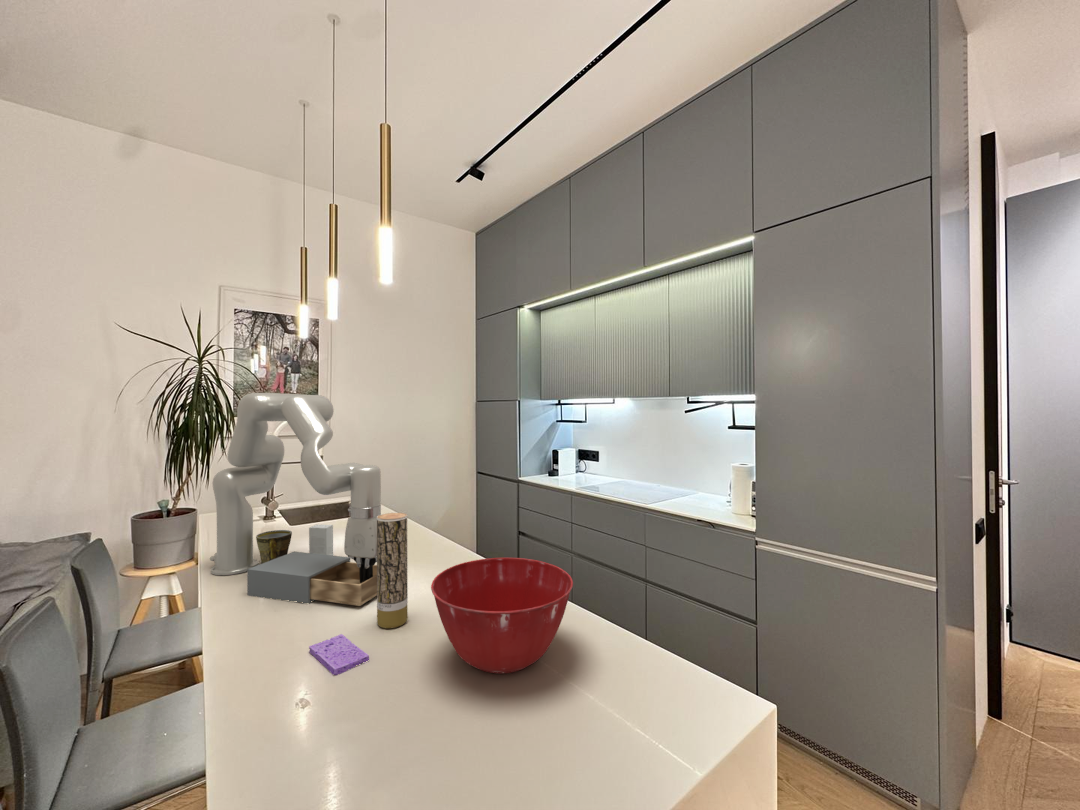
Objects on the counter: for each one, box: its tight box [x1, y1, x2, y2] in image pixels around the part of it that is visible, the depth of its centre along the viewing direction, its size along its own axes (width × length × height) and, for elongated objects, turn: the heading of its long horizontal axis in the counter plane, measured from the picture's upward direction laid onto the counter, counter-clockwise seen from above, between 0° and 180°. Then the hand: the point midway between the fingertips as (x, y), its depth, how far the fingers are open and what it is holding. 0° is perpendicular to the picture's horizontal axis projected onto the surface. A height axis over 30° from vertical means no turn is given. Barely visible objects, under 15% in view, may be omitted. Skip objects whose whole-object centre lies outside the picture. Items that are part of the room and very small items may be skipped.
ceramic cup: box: [255, 529, 293, 564], centre depth 148 cm, size 13×10×10 cm
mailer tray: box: [310, 561, 377, 607], centre depth 126 cm, size 19×14×5 cm
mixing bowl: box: [430, 557, 574, 675], centre depth 95 cm, size 28×28×16 cm
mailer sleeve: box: [246, 551, 351, 604], centre depth 130 cm, size 20×16×7 cm
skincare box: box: [308, 524, 334, 556], centre depth 151 cm, size 6×4×12 cm
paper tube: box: [376, 512, 409, 629], centre depth 109 cm, size 7×7×25 cm
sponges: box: [308, 633, 370, 676], centre depth 95 cm, size 7×13×2 cm, turn 47°
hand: (366, 581), depth 124 cm, fingers closed
